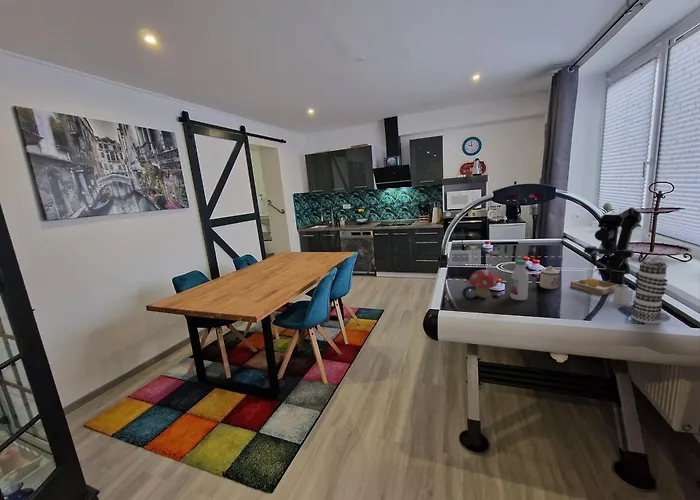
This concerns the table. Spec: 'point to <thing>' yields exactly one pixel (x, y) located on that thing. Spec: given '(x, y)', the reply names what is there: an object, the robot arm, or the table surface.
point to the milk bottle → (519, 281)
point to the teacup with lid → (549, 278)
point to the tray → (599, 290)
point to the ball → (592, 282)
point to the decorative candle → (649, 291)
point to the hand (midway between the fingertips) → (606, 267)
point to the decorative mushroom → (483, 282)
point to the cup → (621, 296)
